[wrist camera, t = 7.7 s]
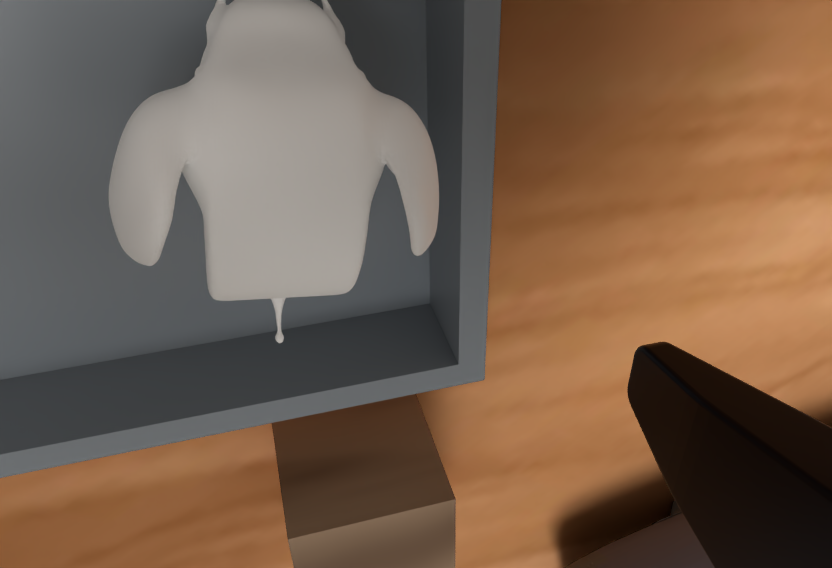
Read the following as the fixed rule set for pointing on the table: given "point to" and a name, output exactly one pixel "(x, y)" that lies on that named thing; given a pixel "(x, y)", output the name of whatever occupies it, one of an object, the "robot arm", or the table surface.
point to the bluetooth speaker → (652, 548)
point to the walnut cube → (365, 488)
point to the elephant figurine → (272, 157)
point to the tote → (185, 245)
